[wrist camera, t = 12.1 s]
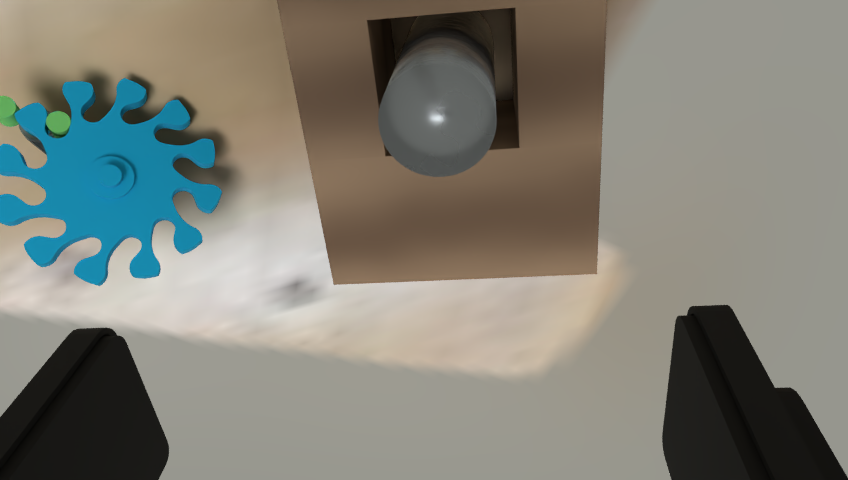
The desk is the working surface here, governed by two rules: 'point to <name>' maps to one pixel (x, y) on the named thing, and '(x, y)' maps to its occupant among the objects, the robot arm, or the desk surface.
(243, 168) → the desk surface
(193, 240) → the gear
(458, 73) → the long pin
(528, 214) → the hole block
